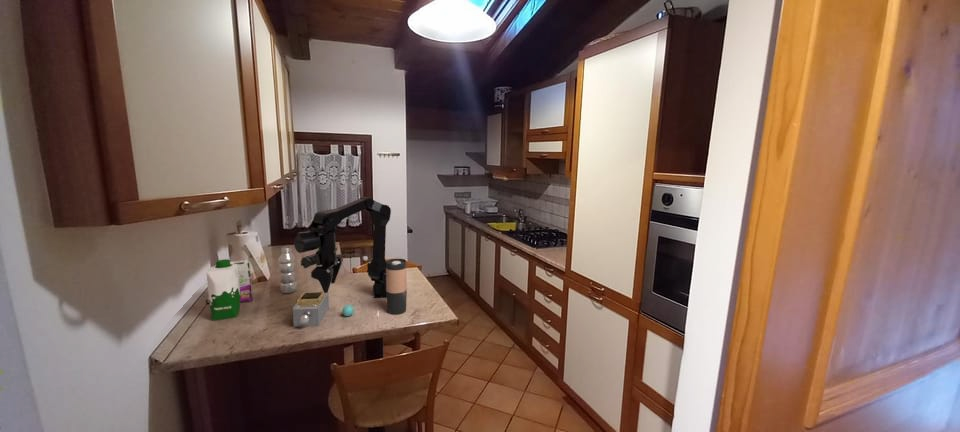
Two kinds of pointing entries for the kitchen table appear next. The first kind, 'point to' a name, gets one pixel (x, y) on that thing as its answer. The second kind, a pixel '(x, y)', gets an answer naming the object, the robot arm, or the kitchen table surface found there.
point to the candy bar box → (244, 279)
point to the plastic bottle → (287, 270)
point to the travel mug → (396, 286)
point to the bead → (348, 310)
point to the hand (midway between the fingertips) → (329, 287)
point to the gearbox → (310, 309)
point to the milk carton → (223, 290)
